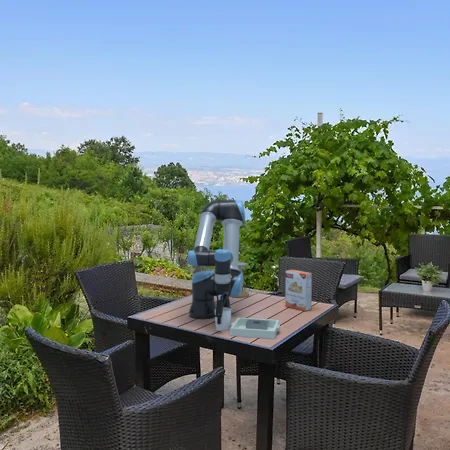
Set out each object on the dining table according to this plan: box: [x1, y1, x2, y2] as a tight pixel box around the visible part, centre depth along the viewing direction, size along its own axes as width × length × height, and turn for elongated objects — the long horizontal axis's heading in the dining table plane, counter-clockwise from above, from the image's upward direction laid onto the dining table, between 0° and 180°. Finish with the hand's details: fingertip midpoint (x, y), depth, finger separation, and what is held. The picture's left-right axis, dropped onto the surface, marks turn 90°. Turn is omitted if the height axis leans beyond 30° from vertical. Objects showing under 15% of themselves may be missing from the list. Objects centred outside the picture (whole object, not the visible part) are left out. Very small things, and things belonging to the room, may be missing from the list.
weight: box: [246, 320, 268, 330], centre depth 223 cm, size 10×4×4 cm, turn 77°
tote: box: [229, 317, 281, 340], centre depth 218 cm, size 22×17×4 cm
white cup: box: [214, 307, 232, 331], centre depth 224 cm, size 8×8×10 cm
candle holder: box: [231, 261, 250, 299], centre depth 291 cm, size 12×12×20 cm
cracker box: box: [284, 269, 313, 312], centre depth 260 cm, size 14×6×21 cm, turn 45°
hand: (222, 326), depth 224 cm, fingers open, 12 cm apart
